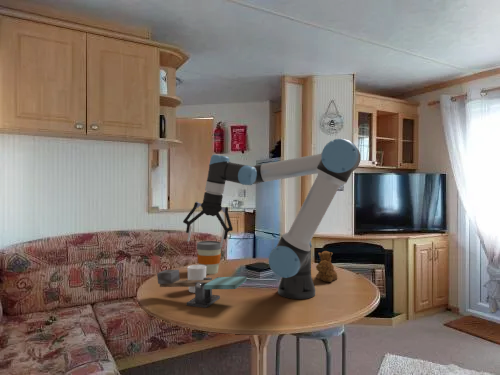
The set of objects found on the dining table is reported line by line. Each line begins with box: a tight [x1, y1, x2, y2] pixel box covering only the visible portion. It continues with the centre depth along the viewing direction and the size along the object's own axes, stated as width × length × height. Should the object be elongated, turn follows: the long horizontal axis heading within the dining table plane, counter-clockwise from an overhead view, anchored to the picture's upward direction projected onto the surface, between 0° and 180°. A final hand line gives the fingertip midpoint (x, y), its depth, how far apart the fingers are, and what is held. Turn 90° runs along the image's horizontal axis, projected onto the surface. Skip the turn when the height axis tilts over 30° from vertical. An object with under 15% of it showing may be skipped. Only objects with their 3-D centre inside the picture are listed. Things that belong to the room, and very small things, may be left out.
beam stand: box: [186, 276, 221, 309], centre depth 134 cm, size 8×12×8 cm, turn 161°
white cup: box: [187, 264, 207, 294], centre depth 149 cm, size 8×8×10 cm
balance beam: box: [156, 269, 248, 290], centre depth 135 cm, size 33×12×6 cm, turn 71°
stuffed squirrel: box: [315, 250, 338, 283], centre depth 167 cm, size 10×14×13 cm
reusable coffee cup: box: [196, 240, 222, 275], centre depth 181 cm, size 13×13×15 cm
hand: (204, 243), depth 146 cm, fingers open, 13 cm apart
